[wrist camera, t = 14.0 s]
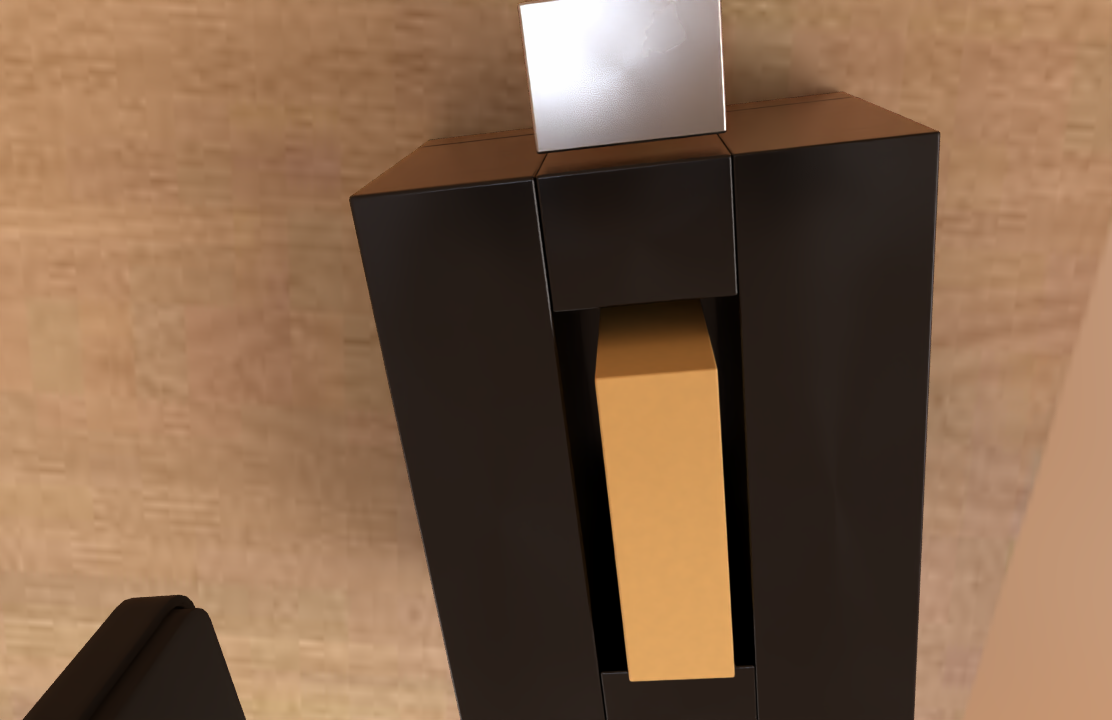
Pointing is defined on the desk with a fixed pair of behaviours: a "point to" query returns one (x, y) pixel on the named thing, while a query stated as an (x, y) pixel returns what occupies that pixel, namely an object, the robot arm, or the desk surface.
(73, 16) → the desk surface
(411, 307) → the toaster
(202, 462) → the desk surface
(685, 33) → the lever
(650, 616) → the toast
